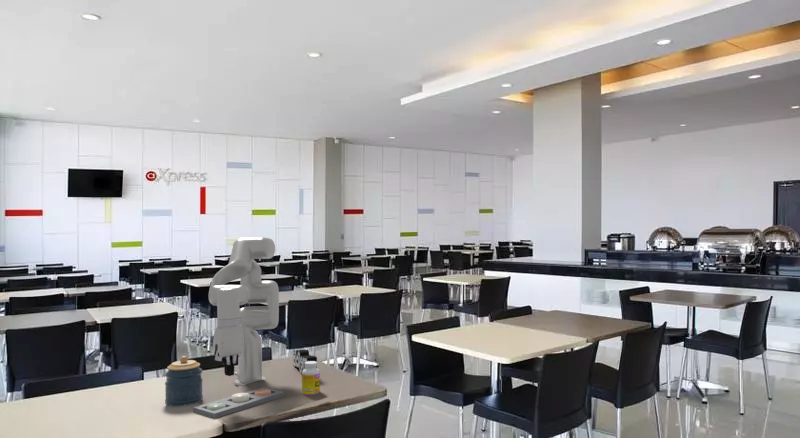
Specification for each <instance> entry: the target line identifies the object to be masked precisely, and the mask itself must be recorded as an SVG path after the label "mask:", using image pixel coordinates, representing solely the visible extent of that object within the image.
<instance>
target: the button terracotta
mask: <svg viewBox="0 0 800 438" xmlns="http://www.w3.org/2000/svg"><path fill="white" fill-rule="evenodd" d="M268 394H271V390H266V389H265V390H258V391H255V392H254V395H257V396H261V397H262V396H265V395H268Z"/></svg>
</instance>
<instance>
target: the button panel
mask: <svg viewBox="0 0 800 438" xmlns="http://www.w3.org/2000/svg"><path fill="white" fill-rule="evenodd" d="M265 389H266V390H271V394H268V395H265V396H262V397H261V396H257V395H254V392H255V391H258V390H265ZM244 393H248V394H249V400H248V401H245V402H242V403H235V402H232V395H231V396H227V397H224V398H220V399H217V400H213V401H211V402H207V403H204V404H200V405H197V406H193V408H192V410H193V411H192V412H193V413H196V414H199V415H202V416H205V417H209V418H212V419H217V418H219V417H220V418H221V417H223V416H227V415H230V414H232V413H236V412H238V411H241V410H245V409H247V408H251V407H254V406H258V405H261V404H264V403H267V402H270V401H273V400H276V399H279V398H283V397H285V392H284V391H280V390H277V389H272V388H269V387H260V388H256V389H252V390H249V391H245V392H244ZM213 403H225V404H226V407H225V408H222V409H219V410H216V411H212V410H208V409H207V406H208V405H210V404H213Z"/></svg>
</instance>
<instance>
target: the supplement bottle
mask: <svg viewBox="0 0 800 438" xmlns="http://www.w3.org/2000/svg"><path fill="white" fill-rule="evenodd" d="M316 366H317V368H316ZM320 381H321V379H320V369H319V368H318V361H317V362H316V361H308V362H305V369H304V370H303V371H302V374H301V385H302V386H301V393H302V394H303V395H304V396H315V395H318V394H320V393H321V384H320Z"/></svg>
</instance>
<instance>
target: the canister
mask: <svg viewBox="0 0 800 438" xmlns="http://www.w3.org/2000/svg"><path fill="white" fill-rule="evenodd" d="M200 366H201V363H200V362H197V360H194V359H189V358H188V357H187V356H186V355H183V356H181V357H180V359H179V360H178V361H174V362H171V364H169V365H168V366H167V371H166V372H165V373H164V375H165V377H166V380H165V382H164V385H165V399H164V401H165V403H164V404H165V407H168V406H172V407H179V406H181V407H182V406H189V405H194V404H197V403H200V402H201V401H203V399H204V395H203V382H204V381H203V380H204V379H203V377H202V373H203V371H204V370H203V369H202V368H201V367H200Z"/></svg>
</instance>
